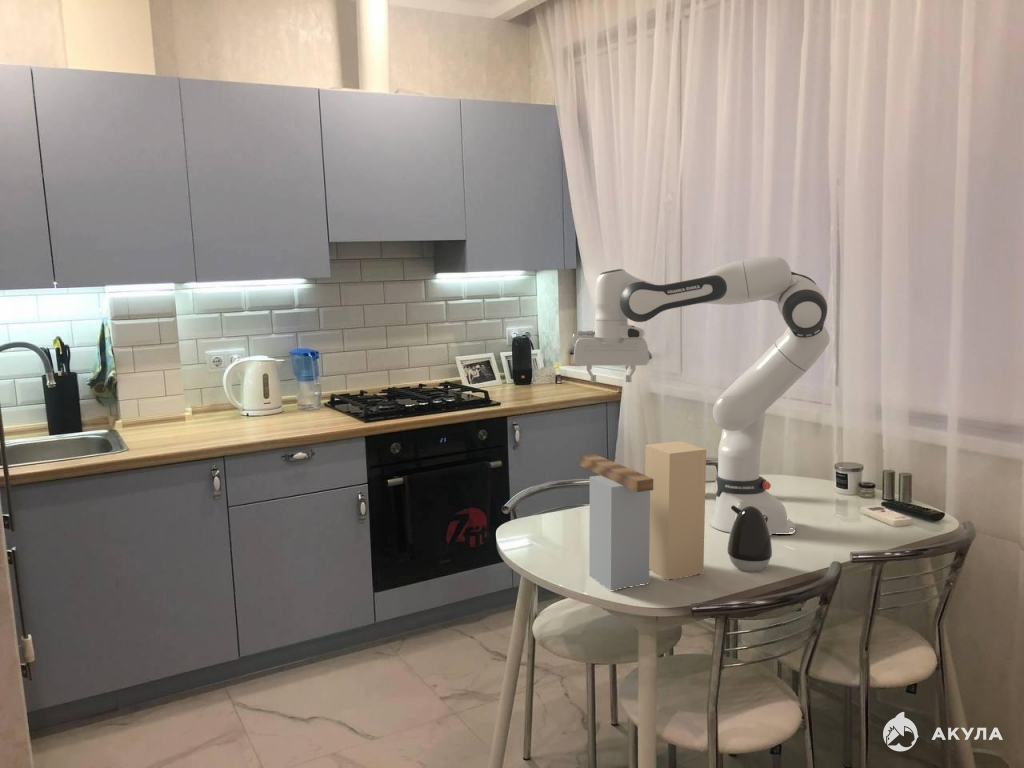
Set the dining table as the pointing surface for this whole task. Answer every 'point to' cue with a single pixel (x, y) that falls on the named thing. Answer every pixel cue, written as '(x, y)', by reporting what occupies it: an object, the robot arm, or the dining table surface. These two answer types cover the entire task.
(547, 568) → the dining table surface
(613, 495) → the grey box
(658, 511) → the carton
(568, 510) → the dining table surface
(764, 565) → the pump dispenser
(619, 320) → the robot arm
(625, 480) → the slat
